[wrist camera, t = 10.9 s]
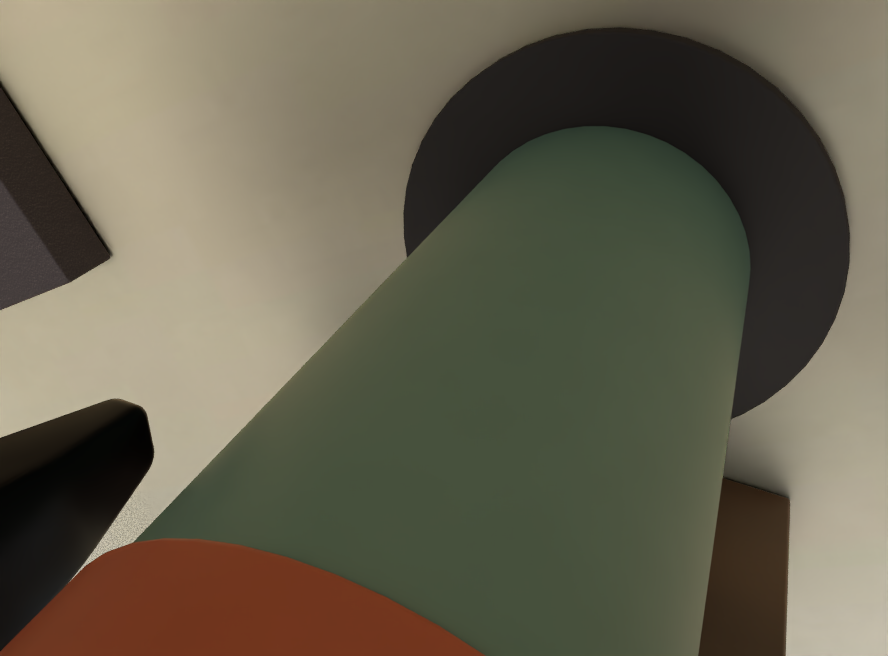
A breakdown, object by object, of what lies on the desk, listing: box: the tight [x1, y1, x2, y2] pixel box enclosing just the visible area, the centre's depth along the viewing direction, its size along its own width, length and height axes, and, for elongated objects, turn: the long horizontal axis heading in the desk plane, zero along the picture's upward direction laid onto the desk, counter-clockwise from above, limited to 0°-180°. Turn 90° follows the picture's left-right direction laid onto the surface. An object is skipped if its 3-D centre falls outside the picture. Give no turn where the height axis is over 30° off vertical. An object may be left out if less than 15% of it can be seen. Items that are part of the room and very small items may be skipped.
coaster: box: [404, 28, 850, 419], centre depth 15 cm, size 9×9×1 cm
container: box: [0, 126, 751, 656], centre depth 10 cm, size 12×6×12 cm
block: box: [698, 478, 790, 656], centre depth 17 cm, size 4×10×5 cm, turn 86°
